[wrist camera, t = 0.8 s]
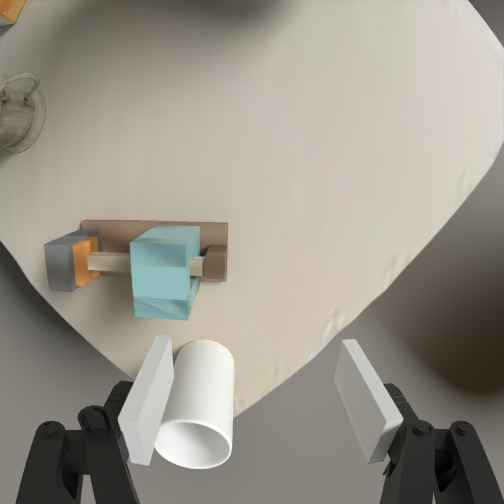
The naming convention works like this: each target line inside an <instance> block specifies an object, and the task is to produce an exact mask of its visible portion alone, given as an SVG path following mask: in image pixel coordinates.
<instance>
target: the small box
mask: <svg viewBox="0 0 504 504" xmlns="http://www.w3.org/2000/svg"><path fill="white" fill-rule="evenodd" d="M25 2H26V0H0V26H3V25H9V24H15V22H16V20H17V18H18V15H19V13H20V11H21V9H22V8H23V6H24V4H25Z"/></svg>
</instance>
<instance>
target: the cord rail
mask: <svg viewBox="0 0 504 504" xmlns="http://www.w3.org/2000/svg"><path fill="white" fill-rule="evenodd" d="M156 225H173V226H200V256H192V258H191V260H190V276H200V280H203V281H226V279H227V244H228V223H214V222H182V221H140V220H83V221H81V226H82V229H80V230H77V231H75V232H72V233H70V234H68V235H65V236H63V237H60V238H58V239H56V240H53V241H51V242H49V243H46V244H44V249H45V258H46V267H47V275H48V282H49V288H50V290H56V291H65V292H72V291H74V290H75V289H76V288H77V287H79V286H85V285H86V284H87V283H89V282H90V281H91V280H92V279H94V278H95V277H96V276H98V275H99V274H101V275H115V276H130V277H132V274H131V257H130V242H131V241H133V240H134V239H136V238H137V237H139V236H140V235H142V234H143V233H145V232H146V231H148V230H150V229H151V228H153V227H154V226H156Z"/></svg>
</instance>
